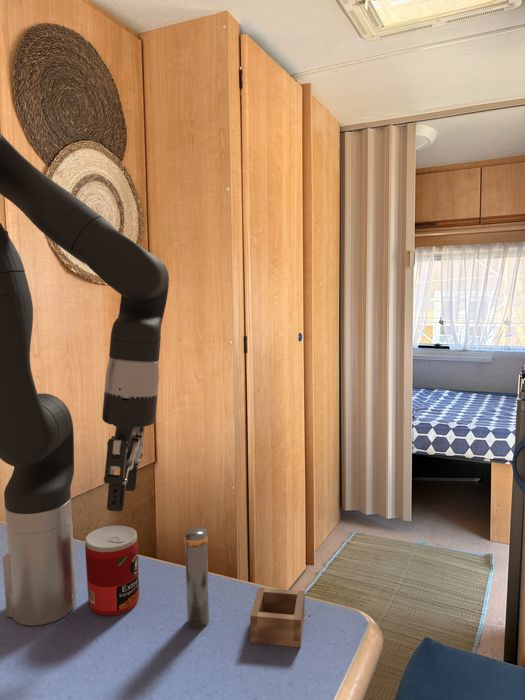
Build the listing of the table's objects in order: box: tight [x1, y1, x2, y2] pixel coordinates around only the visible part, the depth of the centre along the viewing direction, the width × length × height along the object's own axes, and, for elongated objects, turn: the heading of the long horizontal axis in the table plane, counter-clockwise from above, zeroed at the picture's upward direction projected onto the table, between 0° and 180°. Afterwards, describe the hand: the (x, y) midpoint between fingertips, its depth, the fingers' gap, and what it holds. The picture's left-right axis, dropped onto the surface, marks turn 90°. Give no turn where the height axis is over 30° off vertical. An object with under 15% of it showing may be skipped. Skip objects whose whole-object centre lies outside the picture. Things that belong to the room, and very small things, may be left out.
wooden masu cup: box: [249, 587, 306, 648], centre depth 77 cm, size 7×7×4 cm
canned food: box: [84, 525, 140, 617], centre depth 84 cm, size 8×8×11 cm
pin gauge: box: [184, 526, 210, 629], centre depth 78 cm, size 3×3×14 cm
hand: (122, 499), depth 78 cm, fingers open, 8 cm apart
